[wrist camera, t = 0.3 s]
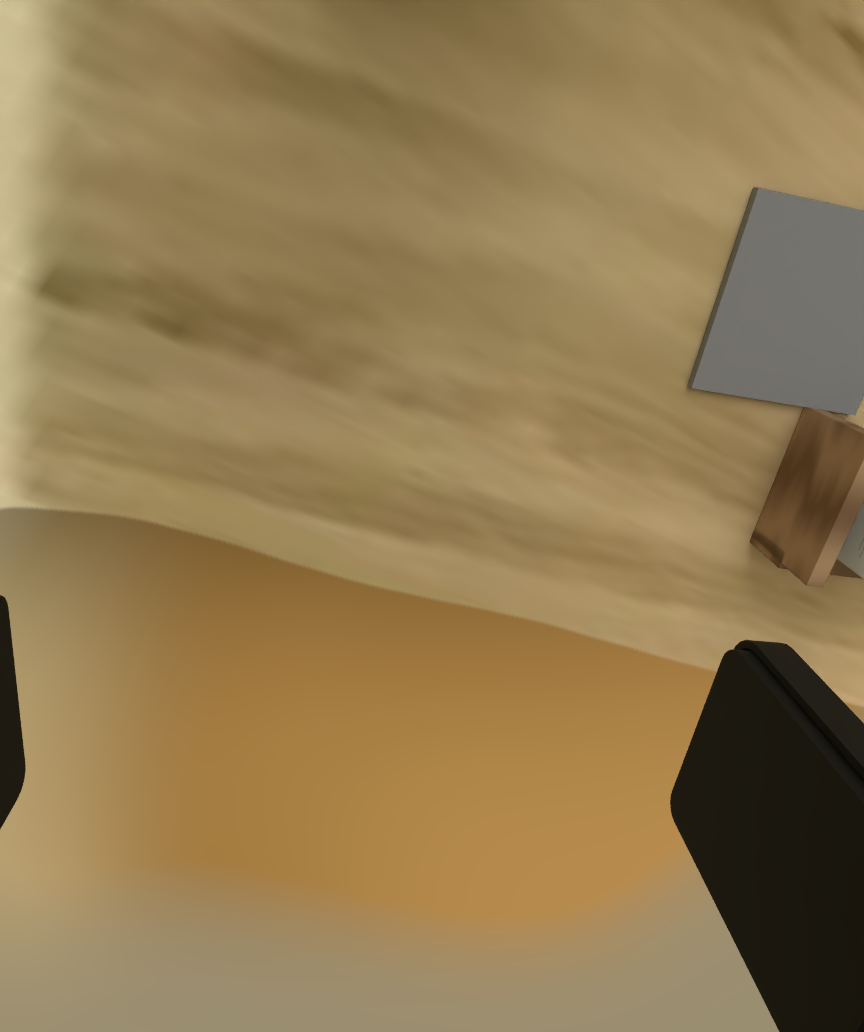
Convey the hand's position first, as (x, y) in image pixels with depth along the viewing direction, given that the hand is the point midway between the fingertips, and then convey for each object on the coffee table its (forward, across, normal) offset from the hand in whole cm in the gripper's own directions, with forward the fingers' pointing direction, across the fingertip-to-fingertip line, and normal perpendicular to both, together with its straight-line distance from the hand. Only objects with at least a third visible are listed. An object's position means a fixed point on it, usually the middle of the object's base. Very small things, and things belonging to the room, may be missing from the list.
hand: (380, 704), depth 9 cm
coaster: (+36, -28, -4) cm, 46 cm away
